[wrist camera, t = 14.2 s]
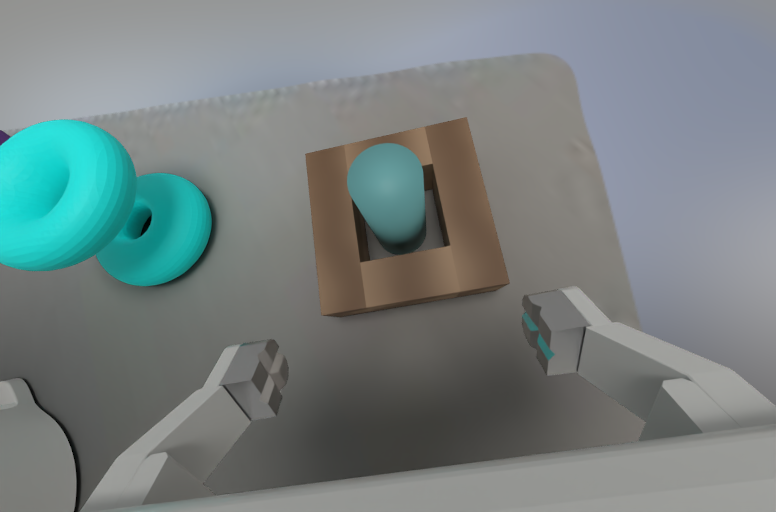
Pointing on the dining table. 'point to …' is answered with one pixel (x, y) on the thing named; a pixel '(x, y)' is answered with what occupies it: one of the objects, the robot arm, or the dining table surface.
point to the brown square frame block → (414, 270)
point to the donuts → (94, 207)
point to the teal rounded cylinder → (390, 195)
